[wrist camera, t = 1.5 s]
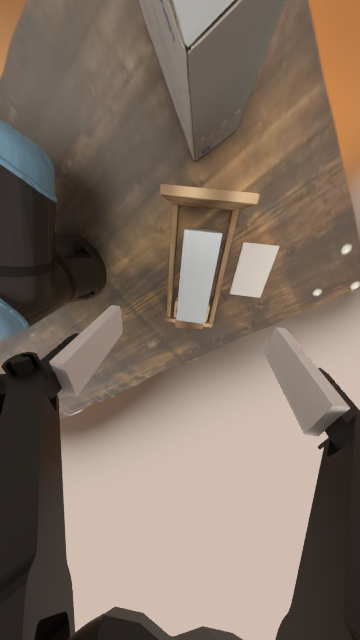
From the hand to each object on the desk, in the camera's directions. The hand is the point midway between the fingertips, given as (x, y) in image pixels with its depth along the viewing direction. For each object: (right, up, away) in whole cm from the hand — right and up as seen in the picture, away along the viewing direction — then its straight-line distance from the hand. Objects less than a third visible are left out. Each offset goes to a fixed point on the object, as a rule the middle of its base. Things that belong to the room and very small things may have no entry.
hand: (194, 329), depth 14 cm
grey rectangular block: (+3, +13, +22) cm, 26 cm away
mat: (+14, +11, +21) cm, 28 cm away
